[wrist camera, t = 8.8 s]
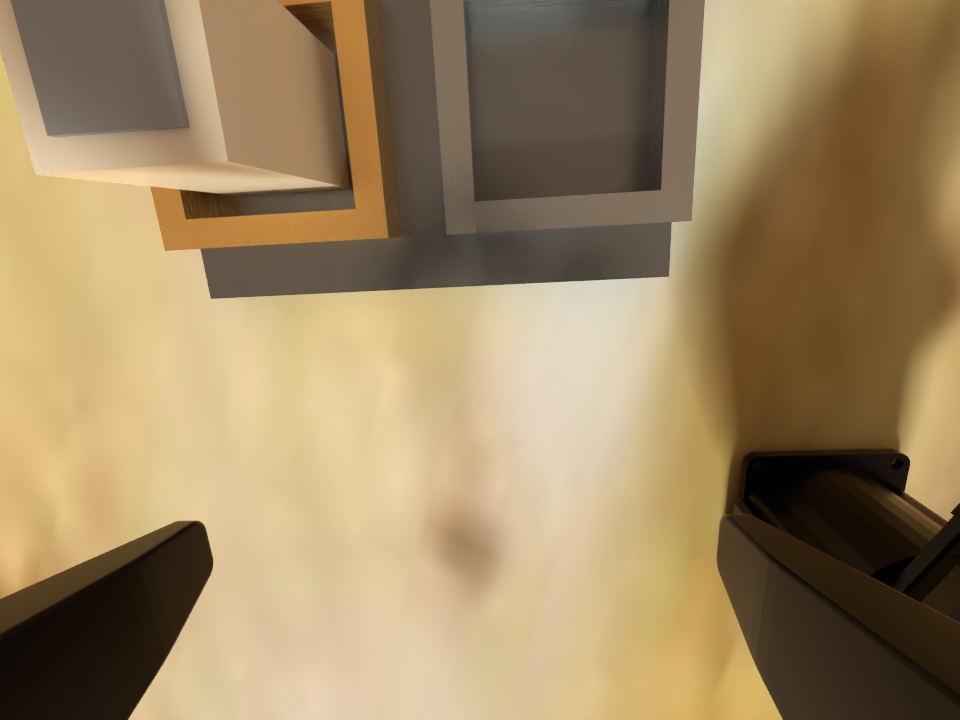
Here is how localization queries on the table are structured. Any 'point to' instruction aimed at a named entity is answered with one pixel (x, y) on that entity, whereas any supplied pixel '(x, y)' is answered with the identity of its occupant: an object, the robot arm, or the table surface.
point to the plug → (175, 94)
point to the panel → (475, 151)
